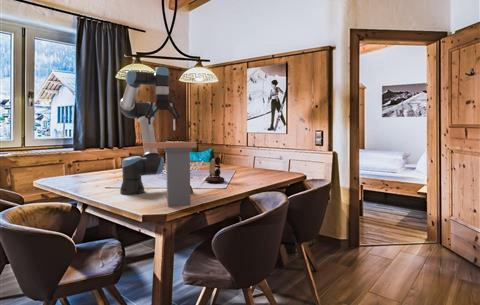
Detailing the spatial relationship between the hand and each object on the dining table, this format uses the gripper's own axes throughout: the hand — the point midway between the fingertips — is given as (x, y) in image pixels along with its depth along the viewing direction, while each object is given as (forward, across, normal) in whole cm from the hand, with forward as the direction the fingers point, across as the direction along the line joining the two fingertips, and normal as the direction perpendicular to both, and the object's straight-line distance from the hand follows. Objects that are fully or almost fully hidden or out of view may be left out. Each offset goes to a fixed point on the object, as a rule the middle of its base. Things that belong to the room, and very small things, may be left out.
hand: (162, 130), depth 188 cm
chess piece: (+42, +43, +39) cm, 72 cm away
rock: (+42, +14, +7) cm, 45 cm away
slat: (+9, +2, -18) cm, 20 cm away
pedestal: (+41, +6, -18) cm, 45 cm away
